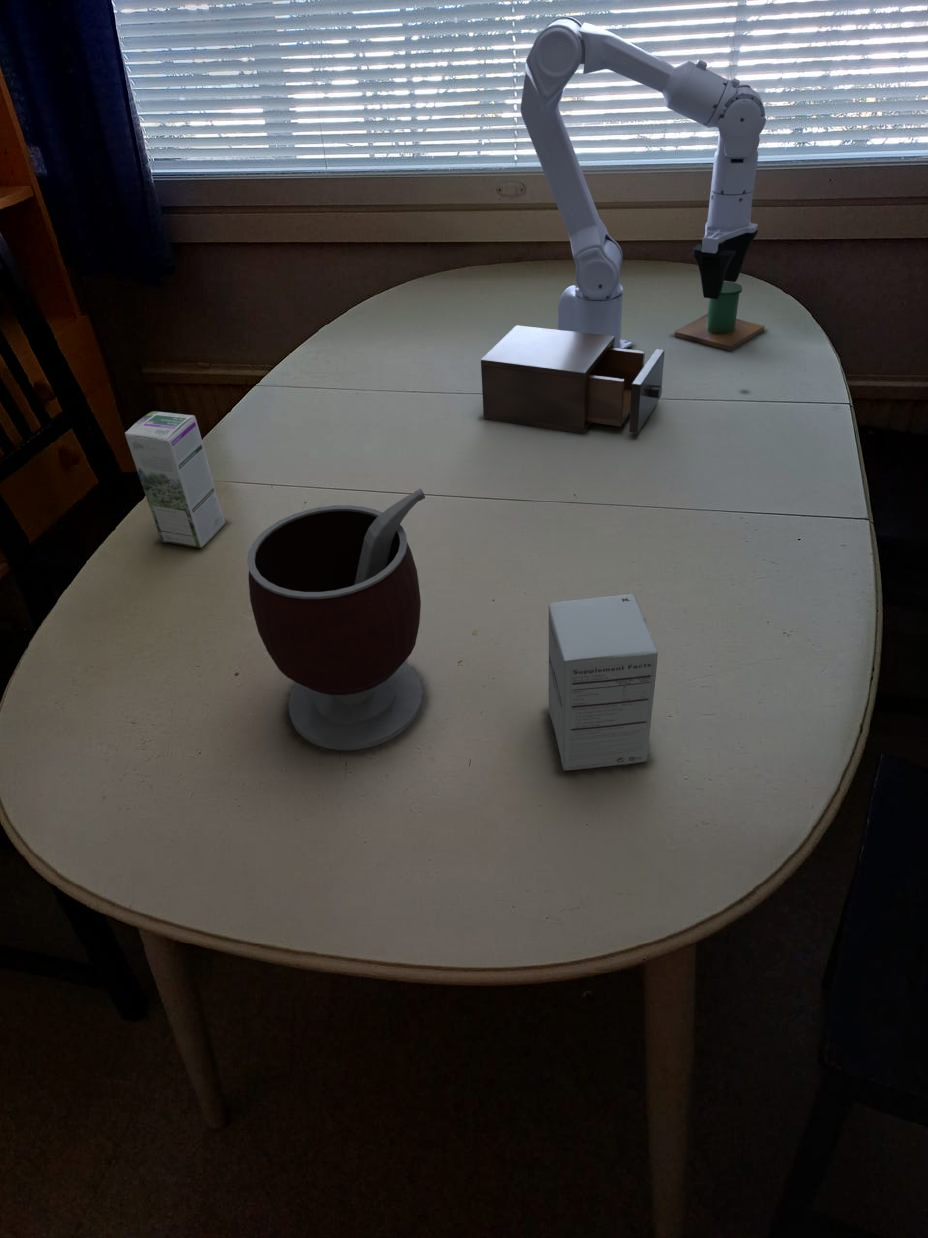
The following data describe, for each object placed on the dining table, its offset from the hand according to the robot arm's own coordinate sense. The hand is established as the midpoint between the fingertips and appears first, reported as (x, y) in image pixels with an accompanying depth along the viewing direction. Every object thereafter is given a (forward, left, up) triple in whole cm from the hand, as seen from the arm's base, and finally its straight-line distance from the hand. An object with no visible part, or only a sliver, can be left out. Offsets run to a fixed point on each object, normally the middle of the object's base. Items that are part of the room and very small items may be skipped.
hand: (720, 288), depth 132 cm
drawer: (0, -27, -9) cm, 28 cm away
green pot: (-3, +6, -9) cm, 11 cm away
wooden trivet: (-3, +6, -9) cm, 12 cm away
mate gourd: (+17, -86, -10) cm, 88 cm away
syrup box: (-20, -81, -10) cm, 84 cm away
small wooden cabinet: (-8, -30, -9) cm, 32 cm away
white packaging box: (+36, -76, -10) cm, 85 cm away
